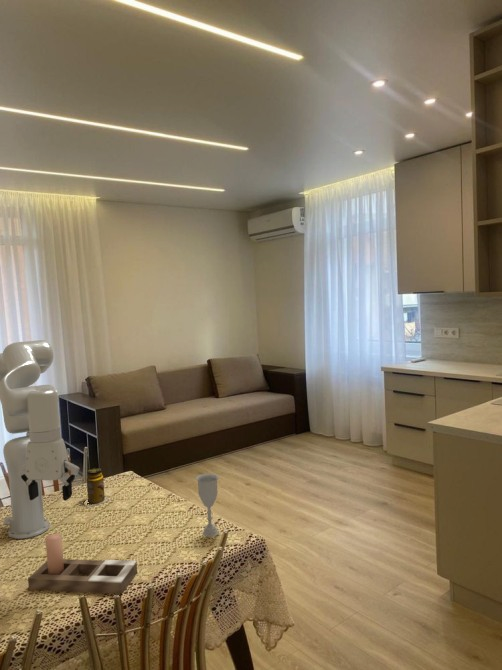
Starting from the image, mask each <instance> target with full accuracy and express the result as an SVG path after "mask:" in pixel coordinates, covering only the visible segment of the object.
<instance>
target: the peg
mask: <svg viewBox="0 0 502 670" xmlns="http://www.w3.org/2000/svg"><path fill="white" fill-rule="evenodd" d="M62 537H63V536H62V534H61V533H60V532H59V533H56V532H55V533H51V534H49V535H46V537H45V548H46V549H45V551H46V561H47V564H48V575H60V574H61V573H62V572H63V571H64V562H63V559H64V552H63V540H62Z"/></svg>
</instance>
